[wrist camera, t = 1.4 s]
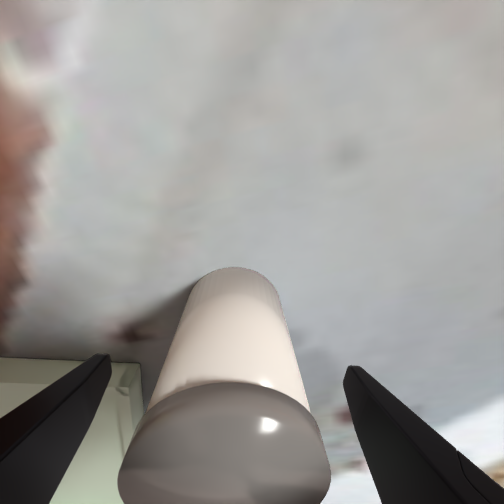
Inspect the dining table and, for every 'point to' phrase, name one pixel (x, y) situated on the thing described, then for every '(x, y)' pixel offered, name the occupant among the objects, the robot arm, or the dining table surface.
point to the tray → (99, 433)
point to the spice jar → (228, 407)
